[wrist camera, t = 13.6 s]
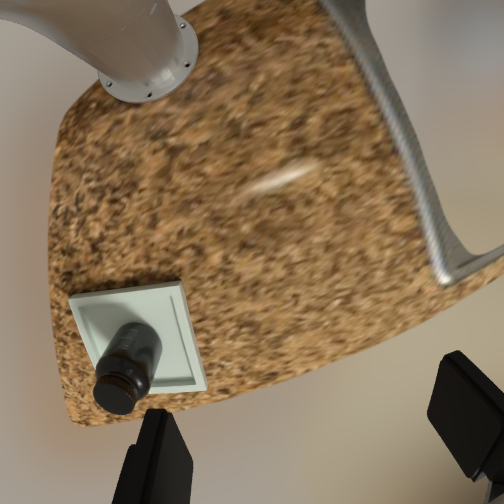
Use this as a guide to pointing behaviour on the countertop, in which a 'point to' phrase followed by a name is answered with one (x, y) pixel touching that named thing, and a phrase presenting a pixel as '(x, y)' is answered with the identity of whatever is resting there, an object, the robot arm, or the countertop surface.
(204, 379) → the sage tray
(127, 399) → the supplement bottle
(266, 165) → the countertop surface
